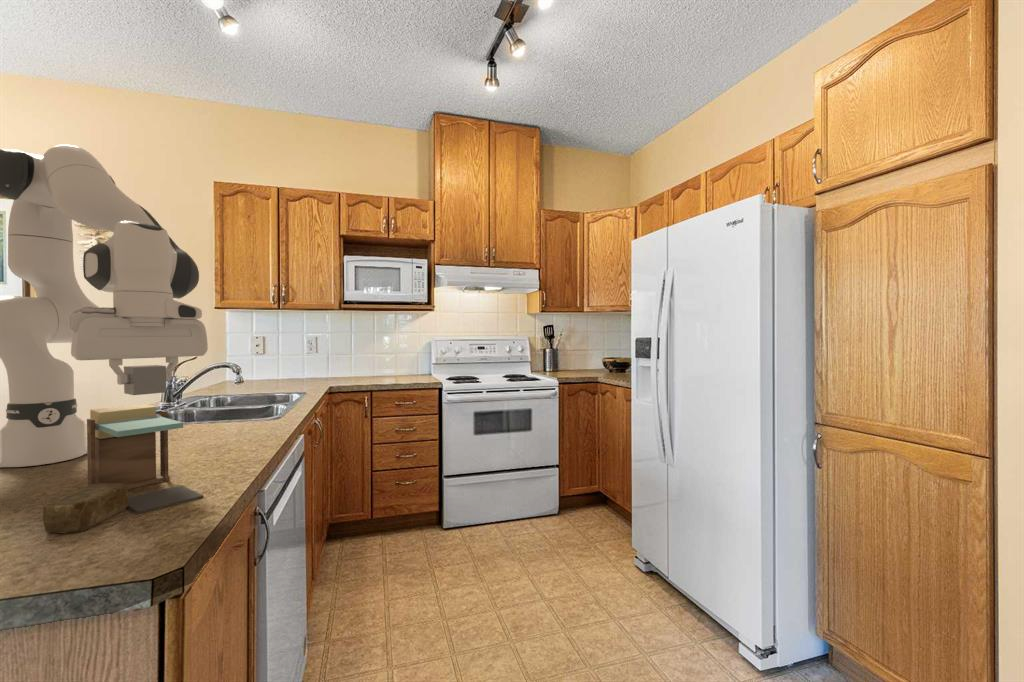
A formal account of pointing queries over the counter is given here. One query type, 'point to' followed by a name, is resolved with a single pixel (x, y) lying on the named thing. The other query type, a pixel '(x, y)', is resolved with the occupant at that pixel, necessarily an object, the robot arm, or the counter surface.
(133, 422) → the trapdoor
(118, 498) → the stone block
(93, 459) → the trapdoor frame
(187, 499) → the rubber mat
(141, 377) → the stone cube
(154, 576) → the counter surface
